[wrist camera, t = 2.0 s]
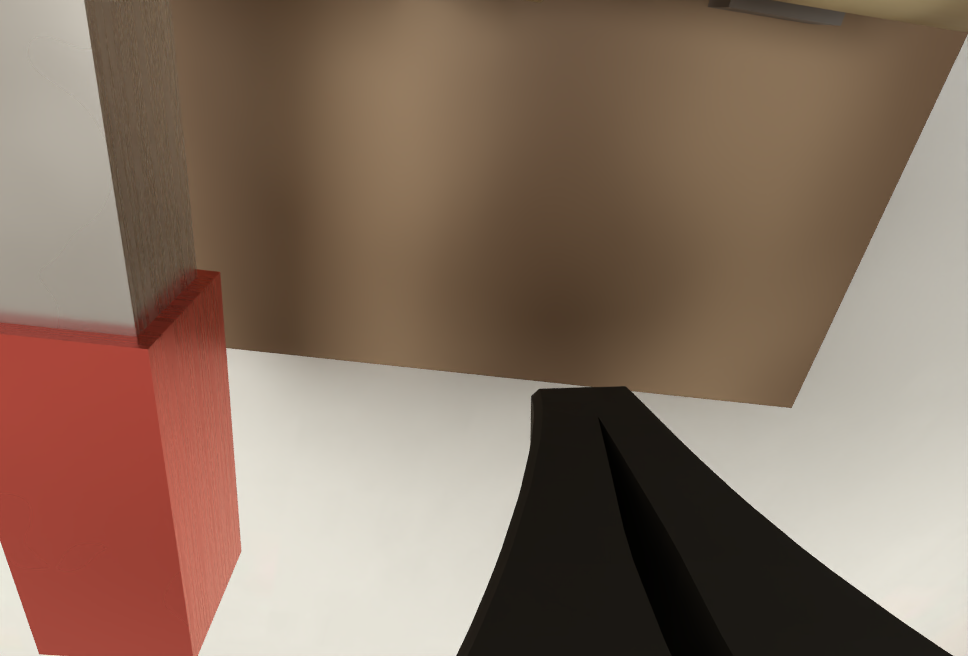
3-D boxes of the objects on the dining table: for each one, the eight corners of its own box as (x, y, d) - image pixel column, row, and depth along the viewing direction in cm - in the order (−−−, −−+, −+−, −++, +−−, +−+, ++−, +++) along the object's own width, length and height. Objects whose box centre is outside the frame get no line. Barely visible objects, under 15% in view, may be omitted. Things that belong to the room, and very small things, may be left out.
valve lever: (-176, -661, 4) (-624, -1120, 2) (184, -576, 4) (3, -943, 3) (100, 540, 10) (23, 653, 8) (254, 551, 10) (208, 664, 8)
